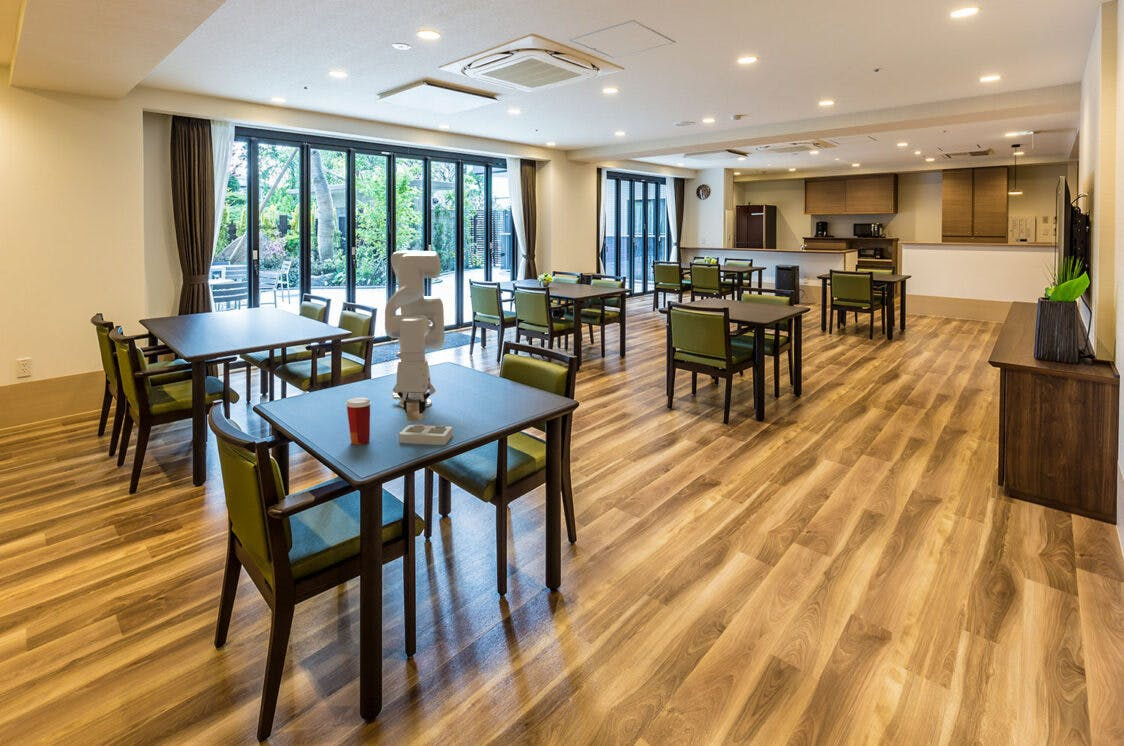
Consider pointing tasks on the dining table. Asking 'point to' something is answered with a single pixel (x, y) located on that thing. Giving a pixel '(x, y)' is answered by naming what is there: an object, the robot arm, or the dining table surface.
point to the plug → (413, 409)
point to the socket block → (426, 434)
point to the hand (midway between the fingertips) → (414, 411)
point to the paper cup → (359, 420)
